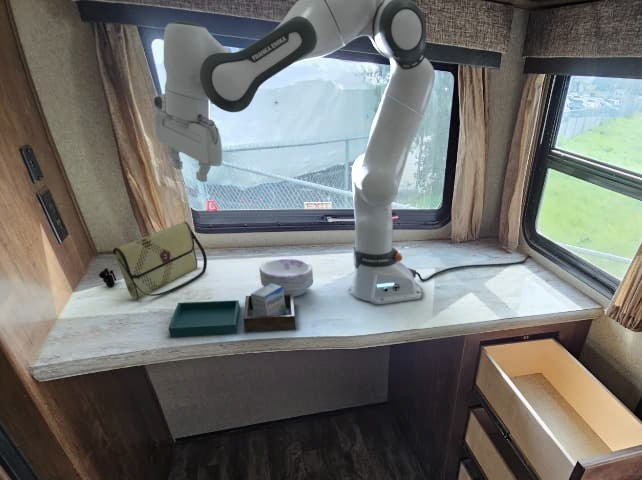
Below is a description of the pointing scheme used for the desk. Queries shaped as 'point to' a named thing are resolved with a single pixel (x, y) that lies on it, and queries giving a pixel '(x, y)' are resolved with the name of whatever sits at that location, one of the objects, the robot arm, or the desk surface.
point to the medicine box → (269, 301)
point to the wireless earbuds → (108, 277)
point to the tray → (205, 318)
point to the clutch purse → (158, 260)
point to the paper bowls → (287, 275)
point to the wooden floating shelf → (269, 318)
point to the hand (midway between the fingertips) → (189, 174)
